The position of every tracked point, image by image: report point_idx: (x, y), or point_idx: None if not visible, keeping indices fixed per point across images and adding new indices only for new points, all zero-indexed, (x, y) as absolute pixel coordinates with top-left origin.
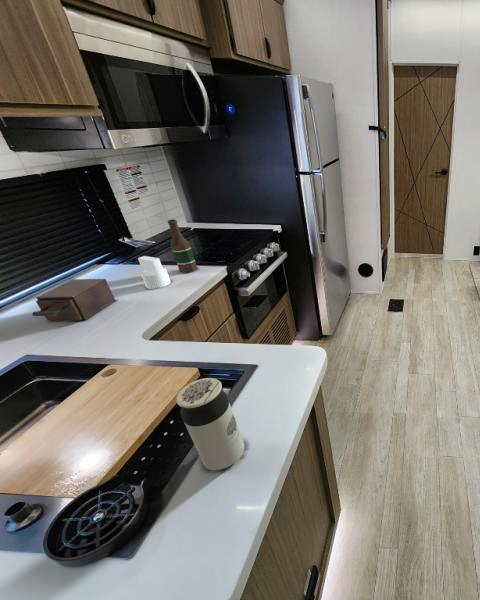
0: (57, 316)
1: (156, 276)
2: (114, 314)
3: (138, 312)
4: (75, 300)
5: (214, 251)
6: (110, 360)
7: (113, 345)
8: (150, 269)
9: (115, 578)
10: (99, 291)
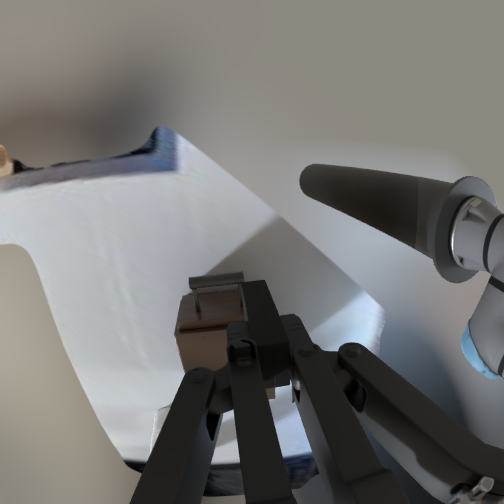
0: (229, 295)
1: (155, 428)
2: (144, 324)
3: (104, 332)
4: (175, 328)
5: None
6: (18, 183)
7: (44, 222)
8: None
9: None
10: None
